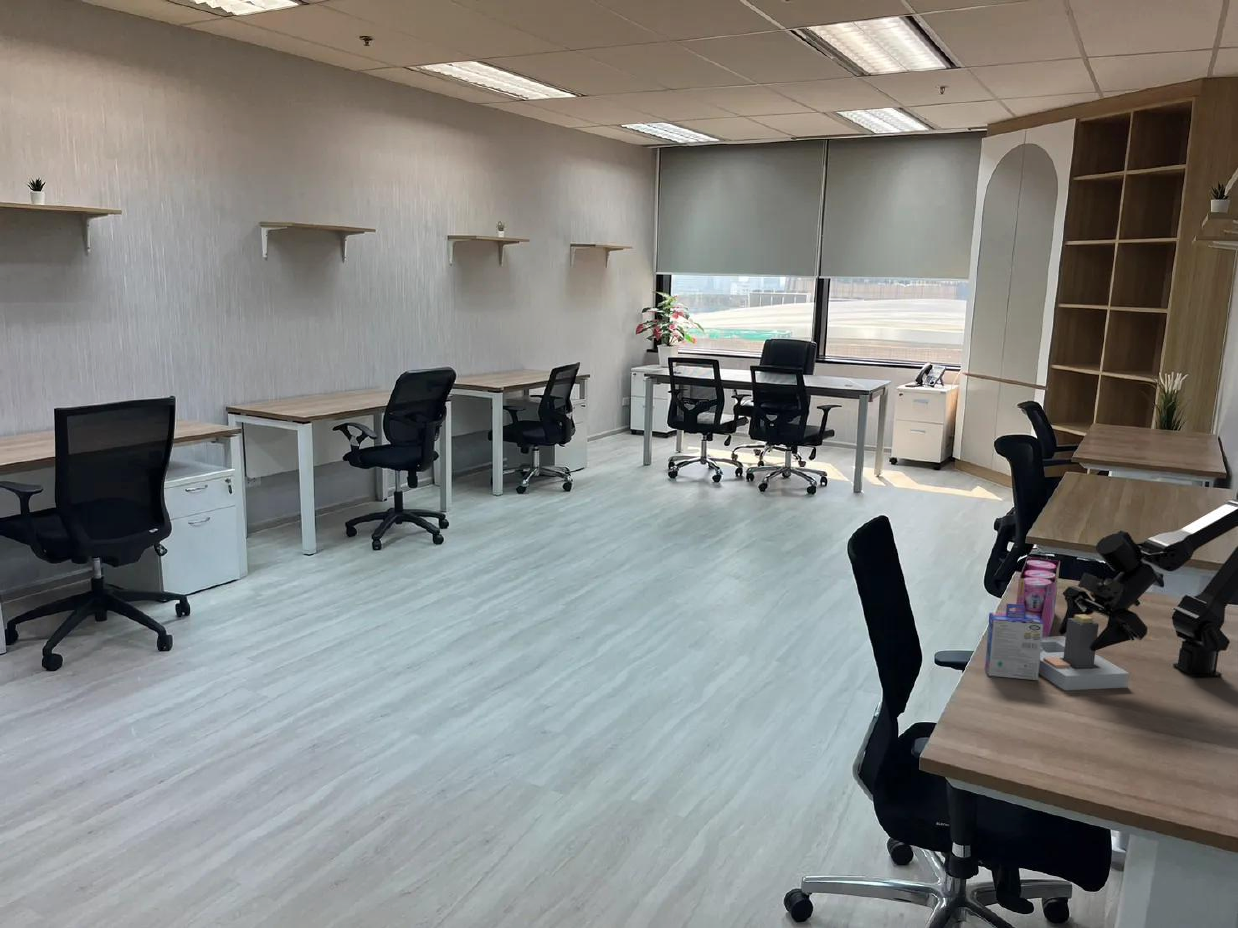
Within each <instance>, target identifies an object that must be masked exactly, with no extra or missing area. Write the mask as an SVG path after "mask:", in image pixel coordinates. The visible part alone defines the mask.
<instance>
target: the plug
mask: <svg viewBox="0 0 1238 928" xmlns="http://www.w3.org/2000/svg"><path fill="white" fill-rule="evenodd" d="M1099 625H1100V624H1099V623H1097V622H1095V621H1094V618H1093V617H1091V616H1090V615H1085V614H1081V615H1075V616H1074V618H1068V622H1067V631H1066V633H1065V637H1066V640H1065V648H1064V657H1063V661H1065V662H1066V663H1068V664H1070V667H1072V668H1073V669H1093V667H1094V659H1095V654H1096V651H1092V650H1091V649H1090V648H1089V647H1090V646H1091V644H1092V643H1093V642H1094V640H1095V639H1096V638H1097V637H1098V634H1099V633H1098V632H1099Z"/></svg>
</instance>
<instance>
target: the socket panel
mask: <svg viewBox="0 0 1238 928" xmlns="http://www.w3.org/2000/svg"><path fill="white" fill-rule="evenodd" d="M1065 640H1066V636H1064V635H1058V636H1057V635H1054V636H1050V635H1049V637H1042V643H1041V652H1040V662H1039V673H1038V675H1041V676H1042V677H1043V678H1044V679H1046V680H1048V681H1049V682H1051V683H1053V684H1054V685H1055V686H1057V687H1058V688H1060V689H1062V690H1063V691H1076V690H1077V691H1081V690H1100V689H1118V688H1119V689H1123V688H1128V687H1129V679H1130V672H1128V671H1126V670H1124V669H1123V668H1121V667H1119V666H1117V665H1115V664H1113V663H1112V662H1110V661H1109V660H1107V659H1105V658H1104V657H1101V656H1099V655H1097V654H1096V653H1095V659H1094V667H1093V669H1073V668H1072V667H1070V664H1068V663H1066V662H1065V661H1063V657H1064V648H1065Z"/></svg>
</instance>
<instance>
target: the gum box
mask: <svg viewBox="0 0 1238 928" xmlns="http://www.w3.org/2000/svg"><path fill="white" fill-rule="evenodd" d="M1060 566H1061V561H1060V560H1055V559H1048V558H1043V557H1041V558H1040V557H1035V556H1027V557H1026V559H1025V563H1024V565H1023V567H1022V570H1021V572H1020V575H1019V577H1018V584H1017V593H1016V601H1015V602H1016V603H1015V604H1017V605H1025V614H1026V615H1030V616H1038V617H1039V618H1040V620H1041V621H1042V622H1043V623H1044V625H1043V634H1042V637H1050V634H1051V629H1052V625H1053V622H1054V620H1055V619H1054V618H1055V613H1056V603H1057V594H1058V585H1059V576H1060V574H1059V573H1060ZM1014 611H1015V612H1022V610H1021V609H1019V608H1015V610H1014Z"/></svg>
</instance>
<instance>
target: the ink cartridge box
mask: <svg viewBox="0 0 1238 928" xmlns="http://www.w3.org/2000/svg"><path fill="white" fill-rule="evenodd" d="M1005 606H1006V609H1005V613H1001V612H999V613H998V612H995V613H994V612H989V614H988V625H987V626H988V628H987V640H986V651H985V652H986V653H985V660H984V661H985V662H984V669H985V673H986V675H987V676H989V677H999V678H1009V679H1010V678H1011V679H1021V680H1031V681H1039V680H1038V679H1039V674H1038V673H1039V662H1040V652H1041V643H1042V634H1043V625H1044V623H1043V622H1042V621H1041V620H1040V618H1039V617H1038V616H1030V615H1026V614H1025V605H1017V604H1016V603H1006V605H1005ZM1013 608H1019V609H1021V610H1022V612H1015V610H1013V611H1012V610H1010V609H1013Z"/></svg>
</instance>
